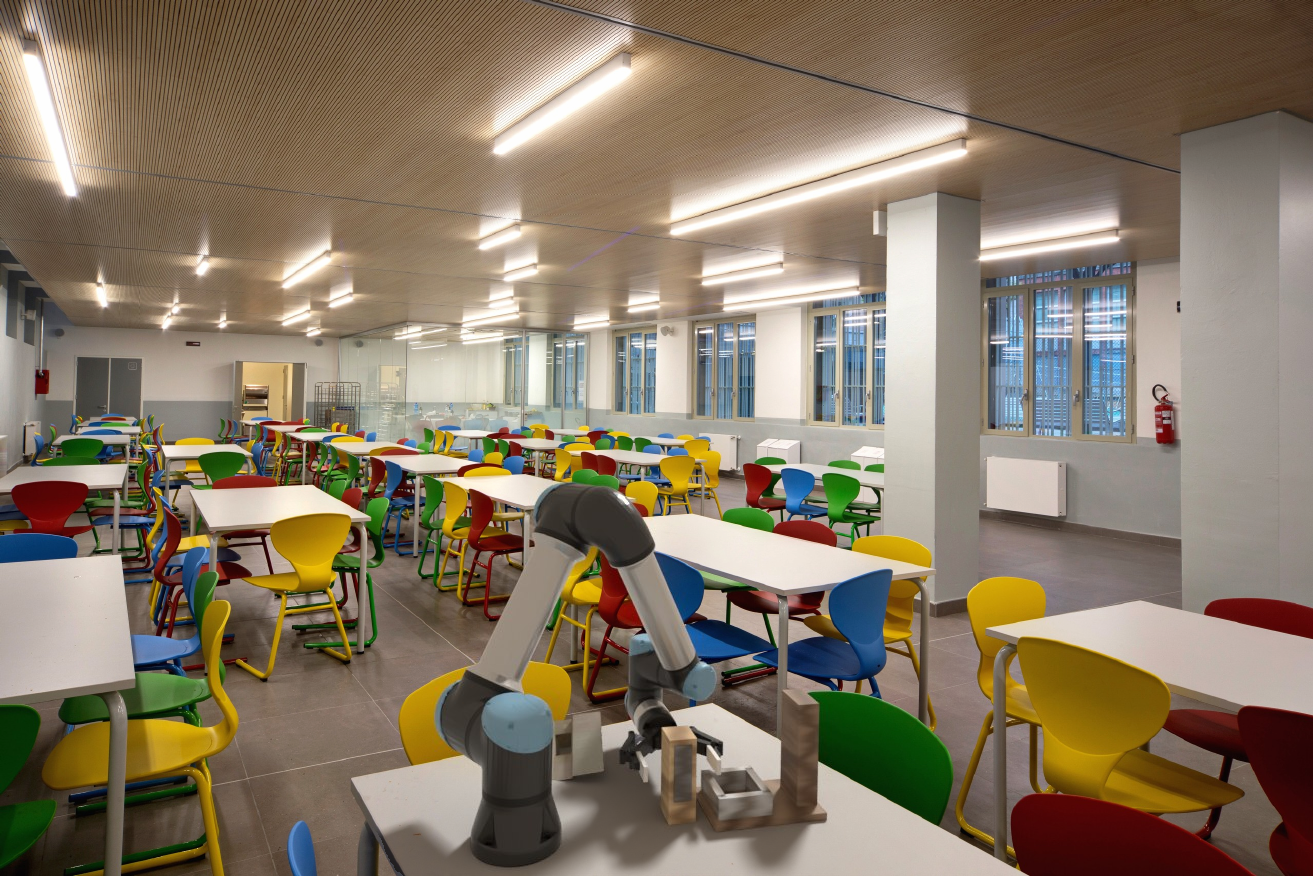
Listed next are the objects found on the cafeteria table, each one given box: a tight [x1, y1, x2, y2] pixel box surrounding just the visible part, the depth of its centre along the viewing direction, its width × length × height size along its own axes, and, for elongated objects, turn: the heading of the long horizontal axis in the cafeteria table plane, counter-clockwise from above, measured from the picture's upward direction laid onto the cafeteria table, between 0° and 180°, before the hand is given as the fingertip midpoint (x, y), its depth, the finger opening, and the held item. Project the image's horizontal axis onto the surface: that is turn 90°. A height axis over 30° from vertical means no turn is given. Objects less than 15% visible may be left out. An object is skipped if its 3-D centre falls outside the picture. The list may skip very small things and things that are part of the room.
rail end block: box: [660, 725, 698, 826], centre depth 138 cm, size 5×6×15 cm
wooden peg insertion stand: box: [696, 688, 828, 833], centre depth 141 cm, size 21×14×20 cm, turn 103°
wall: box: [552, 710, 605, 782], centre depth 158 cm, size 16×9×15 cm
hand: (683, 771), depth 136 cm, fingers open, 13 cm apart
